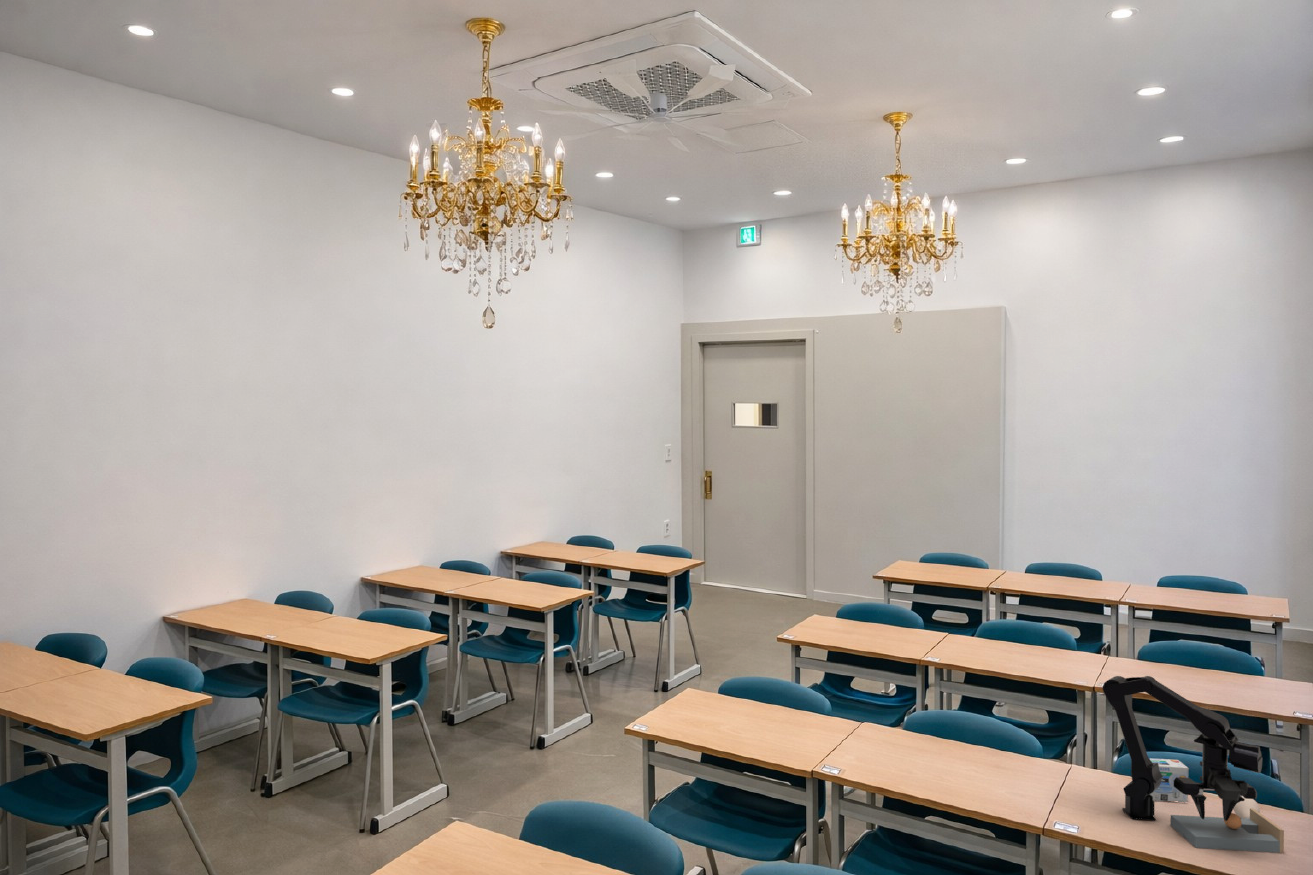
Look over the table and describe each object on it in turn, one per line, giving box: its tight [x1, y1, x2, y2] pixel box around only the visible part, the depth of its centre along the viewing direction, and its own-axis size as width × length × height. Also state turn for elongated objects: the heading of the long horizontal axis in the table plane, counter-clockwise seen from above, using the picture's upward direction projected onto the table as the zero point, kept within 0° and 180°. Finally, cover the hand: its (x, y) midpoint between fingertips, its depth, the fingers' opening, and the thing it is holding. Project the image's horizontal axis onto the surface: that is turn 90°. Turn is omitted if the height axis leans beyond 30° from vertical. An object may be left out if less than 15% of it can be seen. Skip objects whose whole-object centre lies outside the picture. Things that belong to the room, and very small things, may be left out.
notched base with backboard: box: [1169, 808, 1285, 854], centre depth 227 cm, size 22×13×6 cm, turn 84°
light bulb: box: [1232, 796, 1261, 819], centre depth 237 cm, size 7×7×11 cm
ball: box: [1224, 812, 1242, 829], centre depth 227 cm, size 4×4×4 cm
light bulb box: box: [1148, 757, 1190, 803], centre depth 253 cm, size 11×7×11 cm, turn 83°
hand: (1214, 819), depth 227 cm, fingers open, 6 cm apart
